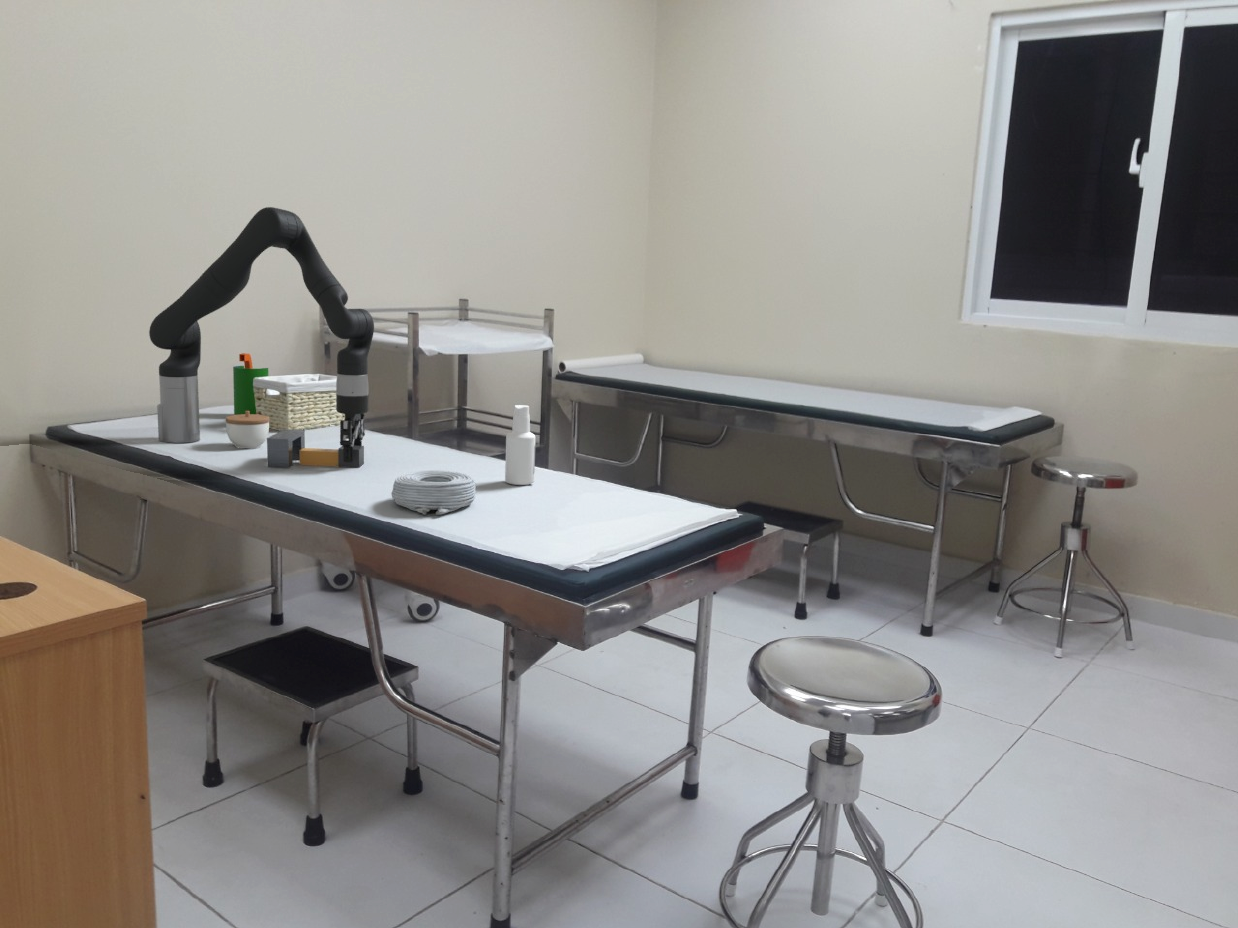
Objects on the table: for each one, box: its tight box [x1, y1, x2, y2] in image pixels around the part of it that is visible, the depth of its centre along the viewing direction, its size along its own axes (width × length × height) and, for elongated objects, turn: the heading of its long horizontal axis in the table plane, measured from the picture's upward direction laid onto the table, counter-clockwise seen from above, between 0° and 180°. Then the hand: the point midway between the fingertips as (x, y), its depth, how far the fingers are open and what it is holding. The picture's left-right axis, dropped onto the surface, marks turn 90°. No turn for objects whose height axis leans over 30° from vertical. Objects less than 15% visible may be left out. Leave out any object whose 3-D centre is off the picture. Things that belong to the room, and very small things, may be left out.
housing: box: [266, 429, 306, 469], centre depth 239 cm, size 5×13×7 cm, turn 1°
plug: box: [299, 445, 365, 469], centre depth 240 cm, size 14×5×4 cm, turn 92°
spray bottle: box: [504, 404, 536, 486], centre depth 229 cm, size 7×7×18 cm
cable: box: [391, 469, 476, 515], centre depth 207 cm, size 18×18×6 cm
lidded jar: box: [224, 411, 270, 449], centre depth 256 cm, size 11×11×9 cm
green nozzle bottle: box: [232, 352, 269, 415], centre depth 298 cm, size 10×9×20 cm
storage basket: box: [253, 373, 345, 432], centre depth 290 cm, size 24×16×15 cm
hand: (352, 458), depth 240 cm, fingers open, 8 cm apart
